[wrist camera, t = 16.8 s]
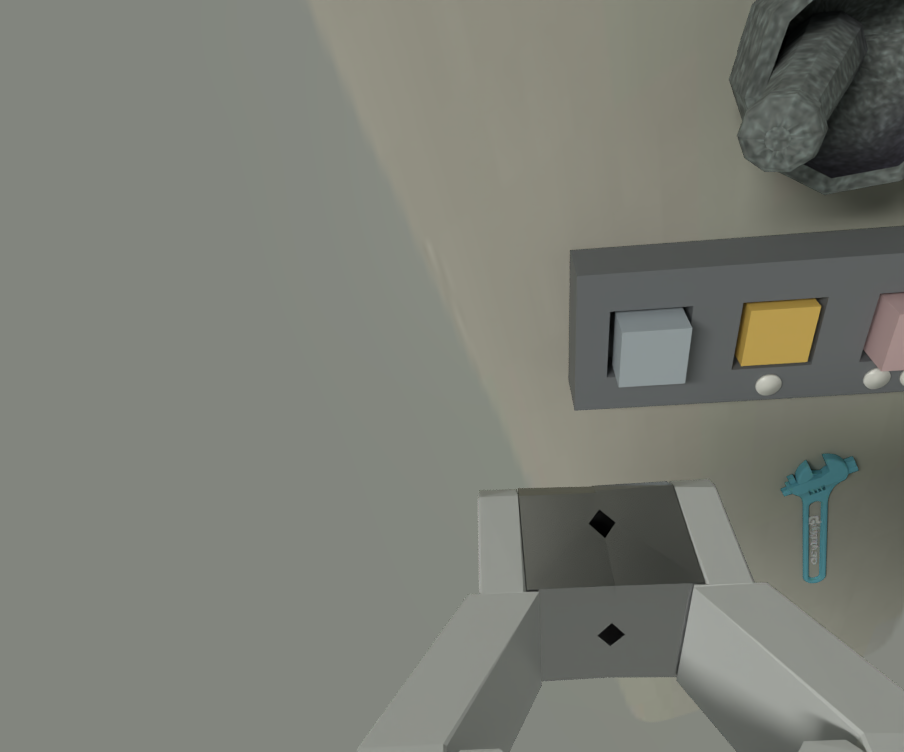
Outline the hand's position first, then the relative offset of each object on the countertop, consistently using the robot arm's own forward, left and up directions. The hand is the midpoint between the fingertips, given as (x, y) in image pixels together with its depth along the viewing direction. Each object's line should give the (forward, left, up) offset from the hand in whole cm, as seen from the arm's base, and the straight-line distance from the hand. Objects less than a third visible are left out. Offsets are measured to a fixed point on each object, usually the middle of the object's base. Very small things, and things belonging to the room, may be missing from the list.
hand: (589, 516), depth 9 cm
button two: (+3, +26, -27) cm, 37 cm away
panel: (+6, +20, -29) cm, 36 cm away
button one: (+6, +20, -28) cm, 35 cm away
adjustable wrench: (+19, +36, -30) cm, 50 cm away
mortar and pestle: (-6, +12, -29) cm, 32 cm away
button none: (+10, +14, -27) cm, 32 cm away
